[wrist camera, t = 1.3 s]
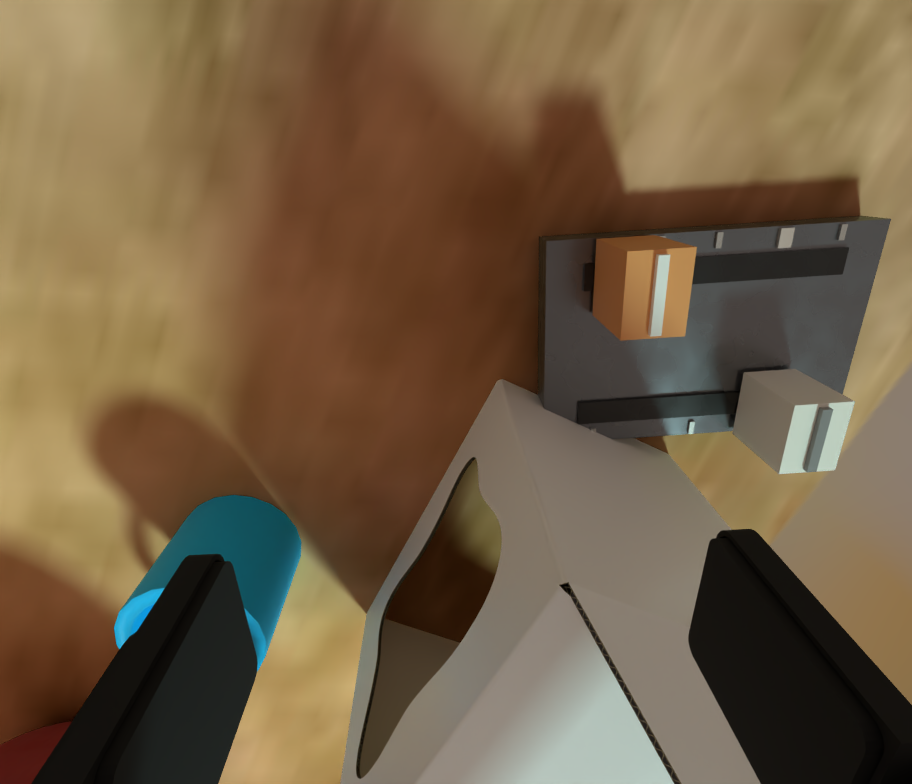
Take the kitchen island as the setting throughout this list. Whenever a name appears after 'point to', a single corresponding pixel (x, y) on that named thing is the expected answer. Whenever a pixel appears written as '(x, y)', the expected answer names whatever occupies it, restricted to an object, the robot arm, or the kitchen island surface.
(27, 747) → the mixing bowl
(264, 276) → the kitchen island surface
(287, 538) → the mug
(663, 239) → the fader orange
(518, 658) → the gable box
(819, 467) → the fader ivory
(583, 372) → the console
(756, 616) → the robot arm
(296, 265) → the kitchen island surface
